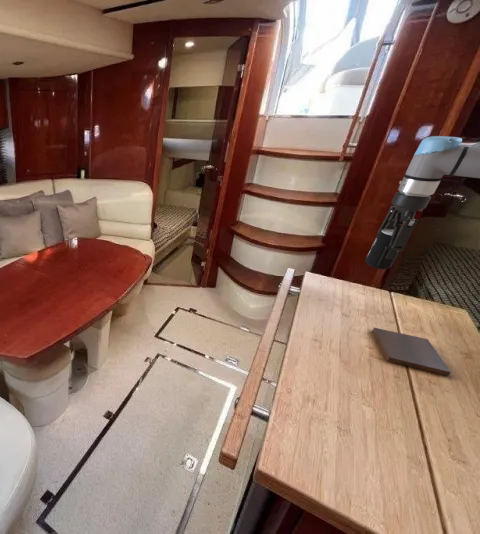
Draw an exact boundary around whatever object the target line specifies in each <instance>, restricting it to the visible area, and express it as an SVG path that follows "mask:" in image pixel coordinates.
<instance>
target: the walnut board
mask: <svg viewBox="0 0 480 534" xmlns="http://www.w3.org/2000/svg"><path fill="white" fill-rule="evenodd" d="M371 333H372V334H373V337H374V338H375V340H376V342H377V345H378V346H379V348H380V350H381V352H382V354H383V356H384V358H385V360H386V361H387V363H393V364H396V365H401V366H405V367H408V368H413V369H415V370H416V369H417V370H421V371H424V372H429V373H433V374H437V375H440V376H441V375H442V376H445V377H448V376H450V374H451V373H452V371H451V370H450V369H449V367H448V366H447V364H446V363H445V361H444V360H443V359H442V357H441V356H440V354H439V353H438V352H437V350H436V348H435V347H434V346H433V344H432V343H431V341H430V340H429V339H428V338H423V337H419V336H415V335H410V334H406V333H402V332H397V331H392V330H387V329H382V328H378V327H373V329H372V330H371Z"/></svg>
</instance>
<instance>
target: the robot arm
mask: <svg viewBox="0 0 480 534" xmlns="http://www.w3.org/2000/svg"><path fill="white" fill-rule="evenodd" d="M462 142H463V139H462V138H461V137H457V136H446V135H444V136H443V135H432V136H431V135H430V136H426V137H425V138H423V139H422V140H421V142H420V144H419V145H418V147H417V149H416V151H415V152H414V154H413V156H412V158H411V161H410V163H409V165H408V167H407V169H406V172H405V174H404V176H403V178H402V180H399V181H398V184H399V186H398V188H397V192H395V193H394V196H393V198H392V200H391V204H392V205H391V206H390V207H389V210H388V212H387V214H386V216H385V217H384V219H383V221H382V223H381V225H380V227H379V228H378V230H377V235H378V234H379V233H380V232H381V231H382V230H383V229H393V230H394V231H393V234H392V237H391V240H390V243H389V246H388V247H385V250H384V252H383V254H382V256H381V258H380V260H379V262H378V264H377V266H380V267H387V268H388V269H390V268H389V266H390V264H391V262H392V260H393V258H394V256H395V255H396V253H397V251H398V250H400V251H401V252H403V251H404V250H405V248H406V246H407V243H408V241H409V239H410V237H411V235H412V233H413V231H414V229H415V227H417V224H419V219H416V218H415V216H416V213H417V211H418V210H424V209H426V208H427V206H428V204H429V202H430V200H431V199H432V195H434V194H435V192H436V190H437V189H438V187H439V185H440V183H441V181H442V178H443V176H445V175H446V176H453V177H454V176H457V177H466V178H472V179H474V178H475V179H480V141H478V142H475V143H474V144H471V145H470V146H468V145H462ZM400 251H399V252H400Z"/></svg>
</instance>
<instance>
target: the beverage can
mask: <svg viewBox="0 0 480 534" xmlns="http://www.w3.org/2000/svg"><path fill="white" fill-rule="evenodd" d="M393 231H394V230H393V229H383V230H382V231H381V232H380V233H379V234H378V233H377V235H376V237H375V239H374V241H373V243H372V245H371V248H370V250H369V252H368V253H367V255H366V258H365V260H364V261H365V263H366V265H367V266H369V267H370V268H374V269H378V270H388V269H390V268H392V266H393V264H394V263H395V260H396V259H397V257H398V255H399V254H400V250H398V251H397V253H396V255H395V256H394V258H393V260H392V262H391V264H390V266H389V268H387V267H380V266H377V264H378V262H379V260H380V258H381V256H382V254H383V252H384V250H385V247H388V246H389V243H390V240H391V237H392V234H393Z"/></svg>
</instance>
